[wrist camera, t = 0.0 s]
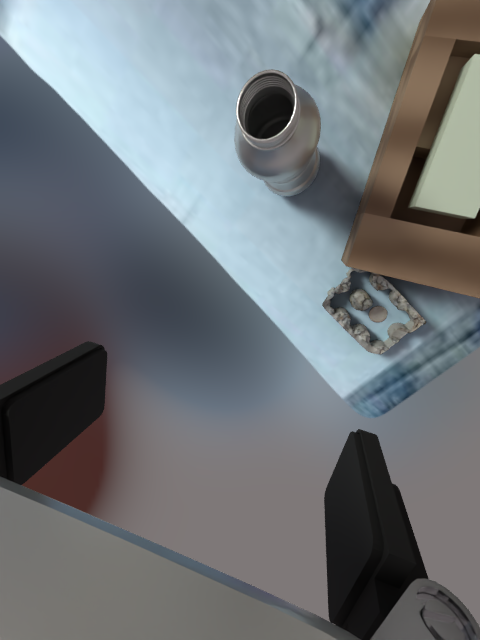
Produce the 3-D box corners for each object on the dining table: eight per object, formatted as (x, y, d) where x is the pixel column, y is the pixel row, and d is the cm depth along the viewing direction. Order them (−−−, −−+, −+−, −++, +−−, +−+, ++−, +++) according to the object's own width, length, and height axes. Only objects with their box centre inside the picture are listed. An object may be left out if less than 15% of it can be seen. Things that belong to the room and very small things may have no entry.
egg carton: (420, 314, 37) (432, 324, 33) (372, 350, 40) (378, 363, 36) (362, 256, 37) (367, 259, 33) (317, 296, 40) (317, 304, 36)
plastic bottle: (330, 173, 35) (349, 110, 16) (283, 210, 37) (252, 192, 19) (299, 125, 34) (283, 2, 15) (253, 166, 36) (191, 102, 18)
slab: (461, 68, 26) (474, 53, 24) (527, 76, 25) (547, 62, 23) (407, 207, 30) (414, 206, 28) (462, 218, 30) (474, 218, 27)
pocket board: (419, 22, 29) (446, -31, 23) (578, 38, 27) (654, -15, 21) (341, 260, 37) (346, 266, 31) (457, 287, 35) (487, 300, 29)
